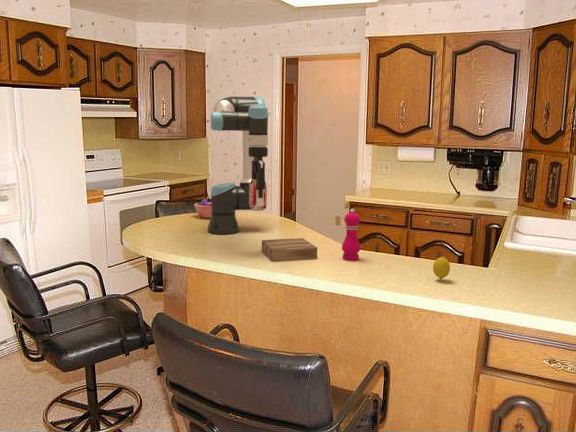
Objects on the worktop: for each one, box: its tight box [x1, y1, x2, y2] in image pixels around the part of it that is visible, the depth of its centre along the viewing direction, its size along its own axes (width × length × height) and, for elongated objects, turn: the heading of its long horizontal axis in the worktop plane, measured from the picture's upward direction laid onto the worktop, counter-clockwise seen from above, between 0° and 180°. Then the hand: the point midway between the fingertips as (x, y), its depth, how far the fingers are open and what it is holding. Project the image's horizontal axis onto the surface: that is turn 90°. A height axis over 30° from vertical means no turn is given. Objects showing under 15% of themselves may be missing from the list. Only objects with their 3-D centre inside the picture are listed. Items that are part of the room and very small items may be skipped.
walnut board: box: [261, 237, 318, 263], centre depth 203 cm, size 18×18×5 cm
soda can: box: [249, 179, 268, 212], centre depth 200 cm, size 7×7×12 cm
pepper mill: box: [341, 208, 361, 262], centre depth 197 cm, size 7×7×20 cm
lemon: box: [432, 256, 451, 280], centre depth 172 cm, size 6×6×8 cm
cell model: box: [193, 198, 211, 220], centre depth 280 cm, size 17×20×11 cm
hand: (257, 204), depth 200 cm, fingers closed on soda can, 7 cm apart
